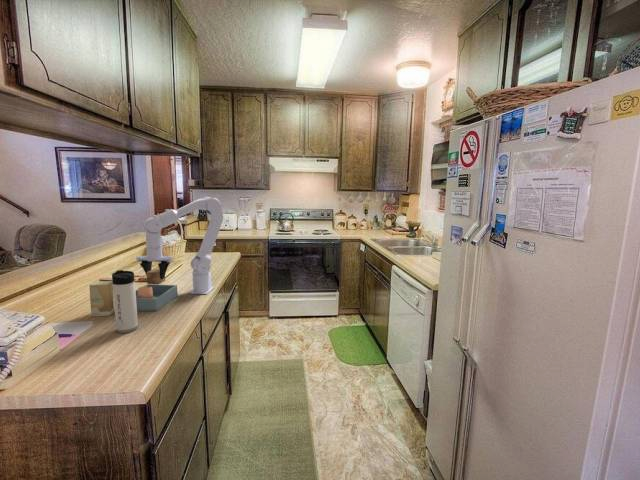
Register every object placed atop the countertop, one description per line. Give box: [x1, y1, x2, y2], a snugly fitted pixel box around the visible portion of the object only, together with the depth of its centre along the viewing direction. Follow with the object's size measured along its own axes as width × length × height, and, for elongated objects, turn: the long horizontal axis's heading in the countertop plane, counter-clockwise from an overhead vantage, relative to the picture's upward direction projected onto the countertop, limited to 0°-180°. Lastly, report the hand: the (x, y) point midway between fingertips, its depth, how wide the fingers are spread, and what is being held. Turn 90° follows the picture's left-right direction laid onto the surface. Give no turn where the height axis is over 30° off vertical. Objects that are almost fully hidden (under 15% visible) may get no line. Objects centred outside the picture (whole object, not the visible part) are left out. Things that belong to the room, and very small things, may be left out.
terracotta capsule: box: [137, 285, 153, 299], centre depth 123 cm, size 5×5×7 cm
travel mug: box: [111, 269, 139, 334], centre depth 102 cm, size 6×7×20 cm
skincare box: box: [88, 280, 115, 317], centre depth 114 cm, size 6×4×12 cm
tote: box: [135, 284, 179, 312], centre depth 127 cm, size 17×13×5 cm
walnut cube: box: [145, 268, 166, 285], centre depth 130 cm, size 5×5×5 cm
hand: (156, 278), depth 130 cm, fingers closed on walnut cube, 5 cm apart
